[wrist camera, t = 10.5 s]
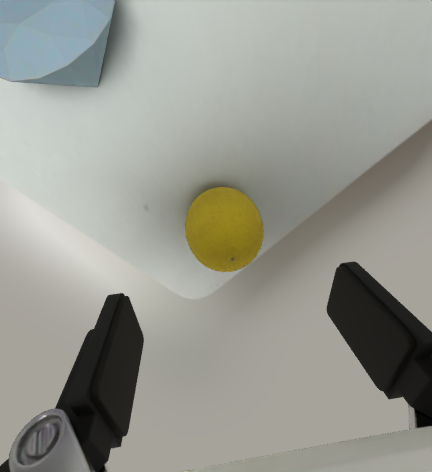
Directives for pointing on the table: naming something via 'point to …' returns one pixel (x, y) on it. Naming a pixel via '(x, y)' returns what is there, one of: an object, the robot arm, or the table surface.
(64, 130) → the table surface
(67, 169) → the table surface
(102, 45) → the gemstone
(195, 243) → the lemon
